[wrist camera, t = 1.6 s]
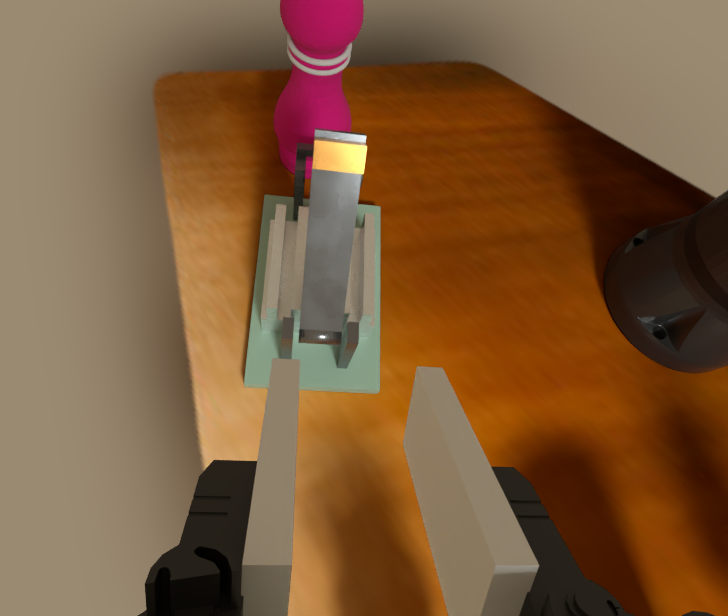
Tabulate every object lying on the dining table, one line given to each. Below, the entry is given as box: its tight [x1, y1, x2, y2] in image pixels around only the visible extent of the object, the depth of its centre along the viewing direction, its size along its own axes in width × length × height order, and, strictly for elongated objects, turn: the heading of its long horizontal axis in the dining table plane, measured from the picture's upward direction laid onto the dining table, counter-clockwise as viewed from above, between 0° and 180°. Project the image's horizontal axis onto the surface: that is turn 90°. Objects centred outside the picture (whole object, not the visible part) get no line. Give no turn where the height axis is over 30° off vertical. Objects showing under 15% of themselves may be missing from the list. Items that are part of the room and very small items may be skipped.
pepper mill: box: [274, 0, 363, 179], centre depth 41 cm, size 7×7×20 cm
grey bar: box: [298, 128, 367, 345], centre depth 32 cm, size 15×3×2 cm
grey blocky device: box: [261, 143, 375, 369], centre depth 40 cm, size 16×9×8 cm, turn 179°
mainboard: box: [244, 195, 380, 394], centre depth 44 cm, size 18×11×1 cm, turn 179°
